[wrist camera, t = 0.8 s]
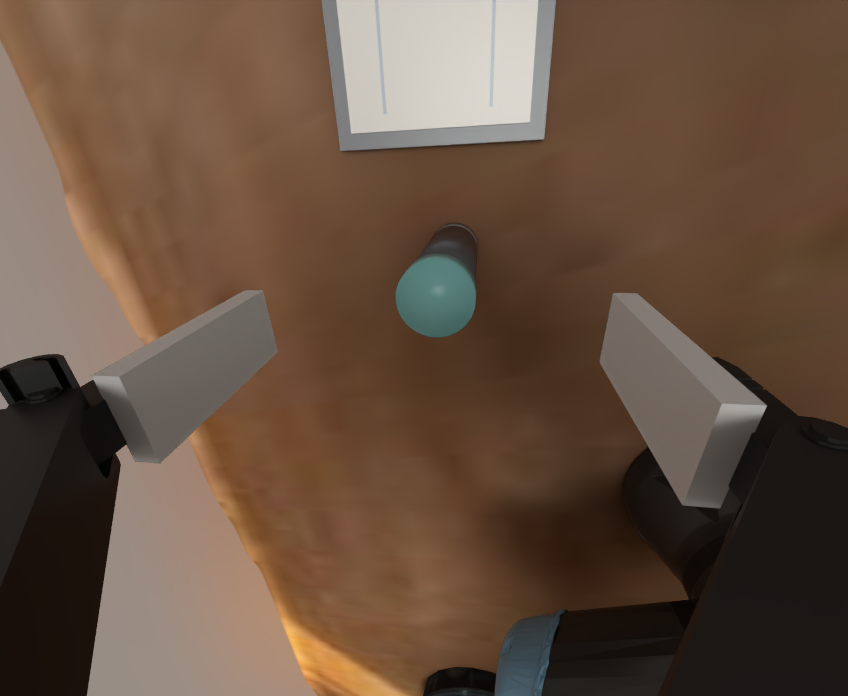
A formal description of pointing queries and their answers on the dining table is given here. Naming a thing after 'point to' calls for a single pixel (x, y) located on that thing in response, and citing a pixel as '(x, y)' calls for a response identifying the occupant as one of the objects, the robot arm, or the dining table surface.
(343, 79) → the small whiteboard
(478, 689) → the beer stein
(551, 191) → the dining table surface
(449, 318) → the marker
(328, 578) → the dining table surface
